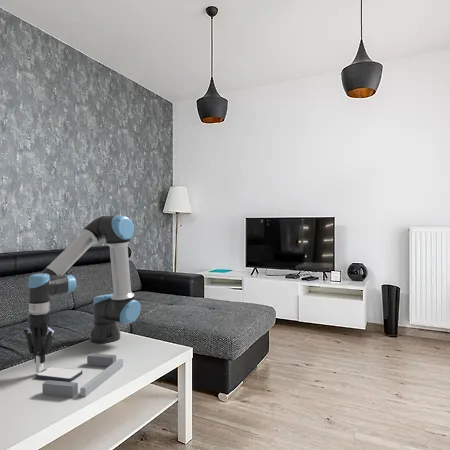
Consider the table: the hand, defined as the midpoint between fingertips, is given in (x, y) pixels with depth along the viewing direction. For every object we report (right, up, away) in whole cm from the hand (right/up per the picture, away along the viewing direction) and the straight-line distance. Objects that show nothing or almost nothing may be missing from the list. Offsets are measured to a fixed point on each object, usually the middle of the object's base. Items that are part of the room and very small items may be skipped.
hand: (39, 370), depth 150 cm
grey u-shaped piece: (+21, -1, -4) cm, 21 cm away
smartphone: (+9, -2, -1) cm, 9 cm away
